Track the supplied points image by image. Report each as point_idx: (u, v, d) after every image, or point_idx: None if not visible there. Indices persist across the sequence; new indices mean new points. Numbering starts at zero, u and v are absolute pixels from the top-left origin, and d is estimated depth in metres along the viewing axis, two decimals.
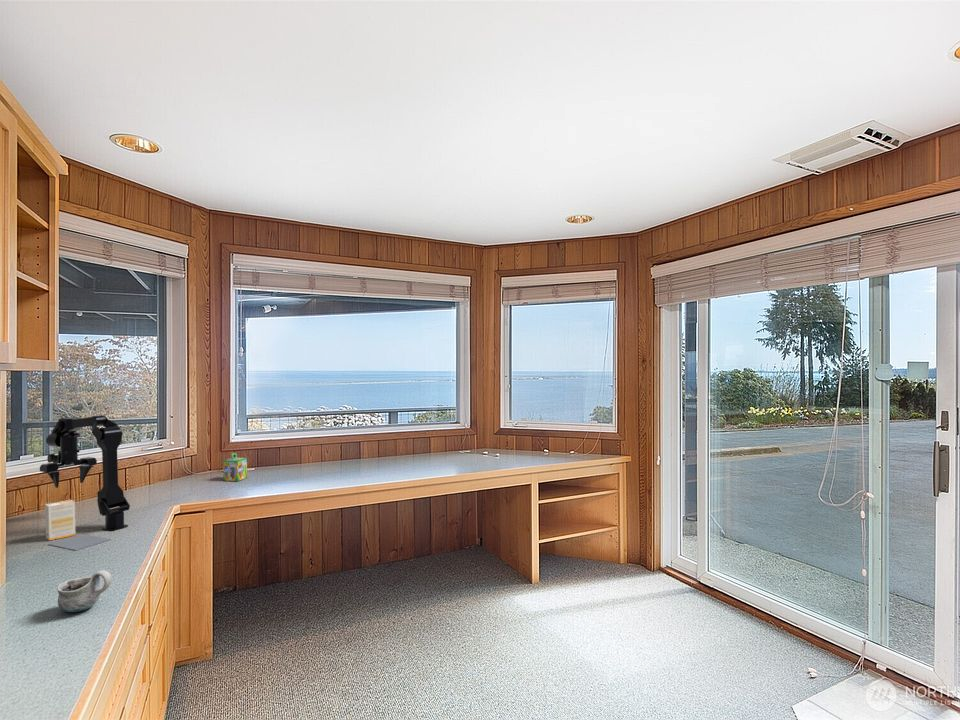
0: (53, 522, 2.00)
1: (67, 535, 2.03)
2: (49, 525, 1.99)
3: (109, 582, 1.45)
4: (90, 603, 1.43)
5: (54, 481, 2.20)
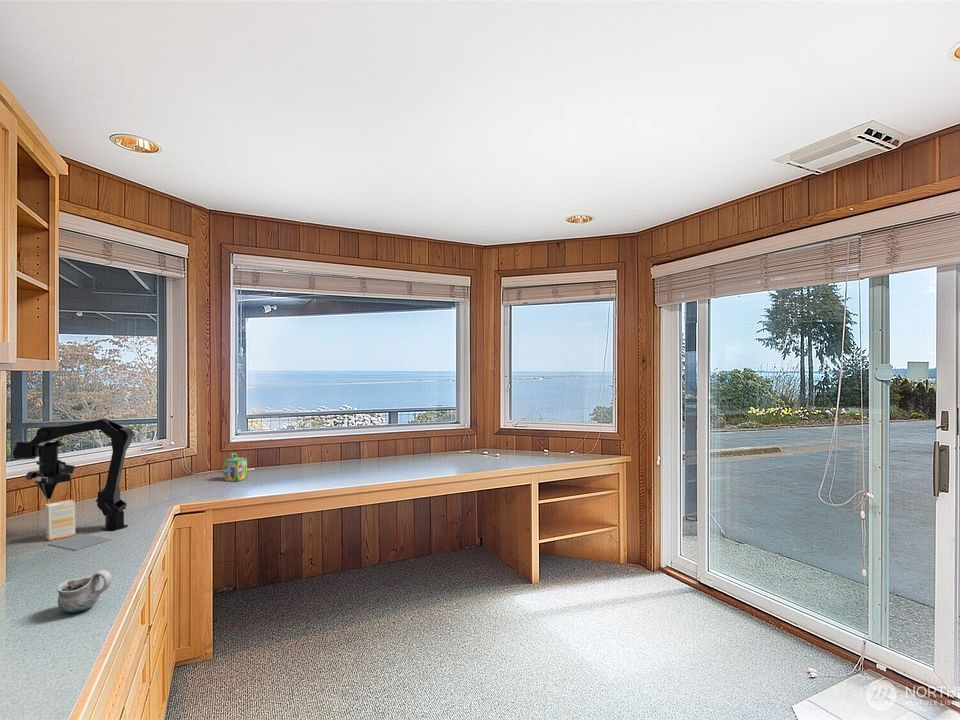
0: (53, 522, 2.00)
1: (67, 535, 2.03)
2: (49, 525, 1.99)
3: (109, 582, 1.45)
4: (90, 603, 1.43)
5: None
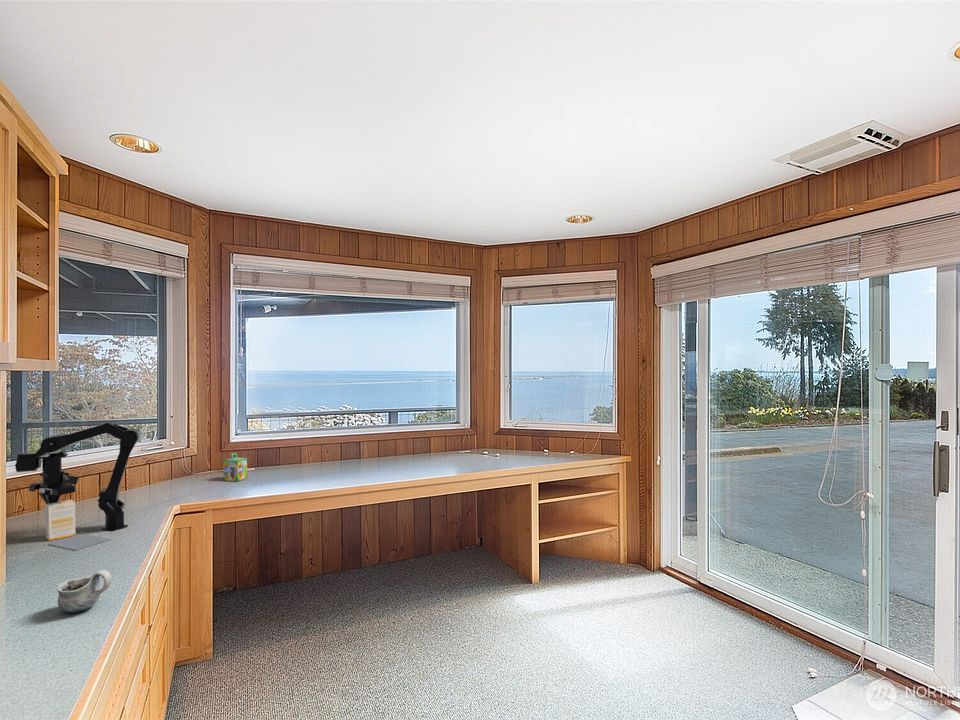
0: (53, 522, 2.00)
1: (67, 535, 2.03)
2: (49, 525, 1.99)
3: (109, 582, 1.45)
4: (90, 603, 1.43)
5: None
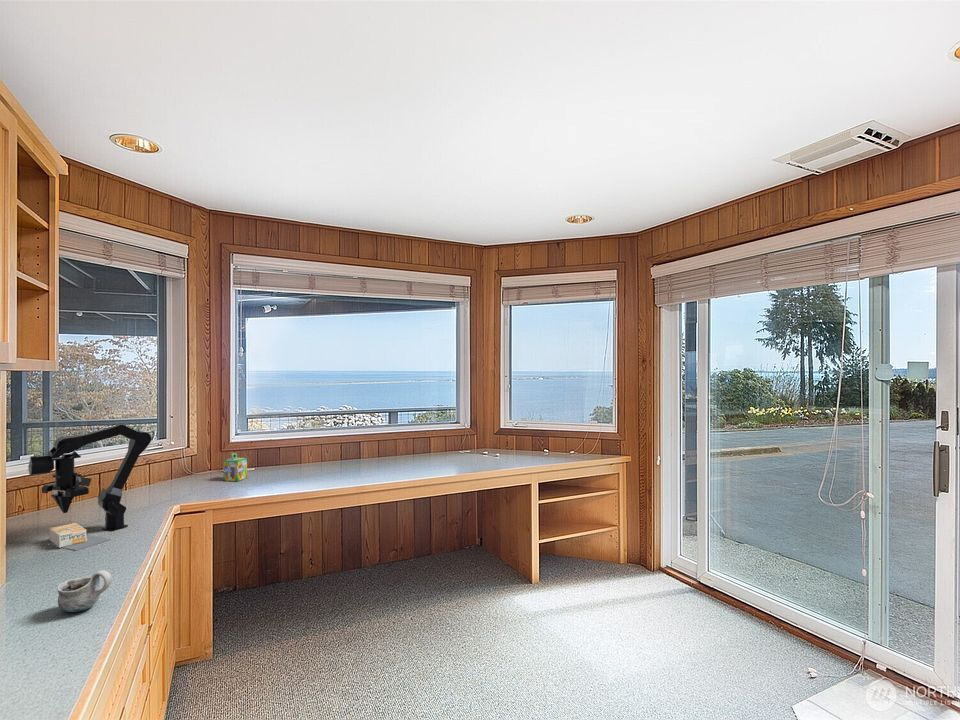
0: None
1: None
2: None
3: (109, 582, 1.45)
4: (90, 603, 1.43)
5: None
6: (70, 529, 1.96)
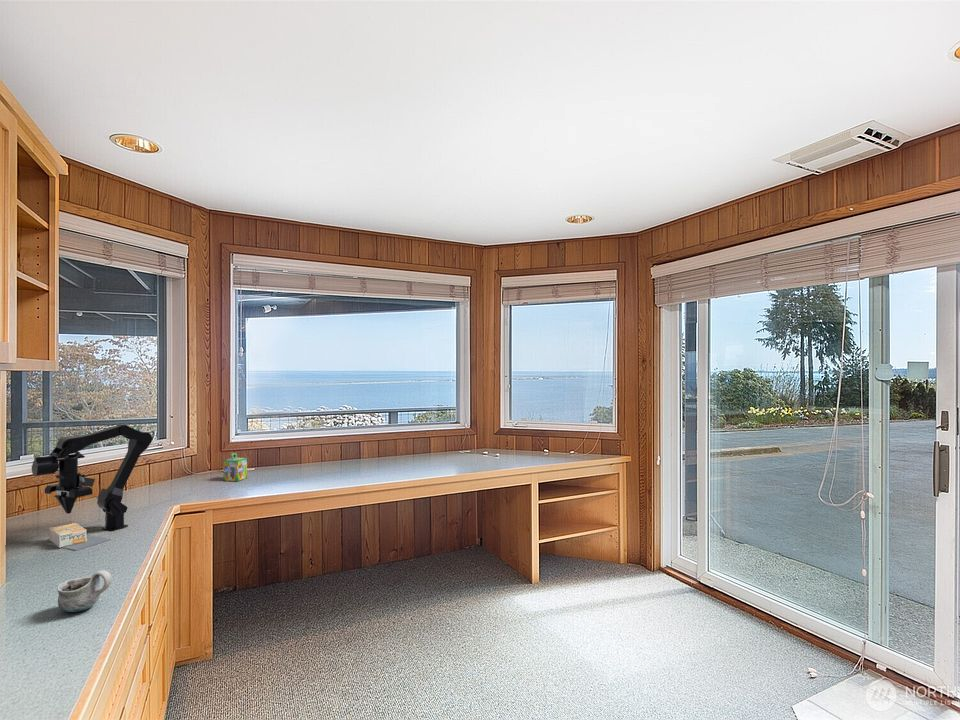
0: None
1: None
2: None
3: (109, 582, 1.45)
4: (90, 603, 1.43)
5: None
6: (70, 529, 1.96)
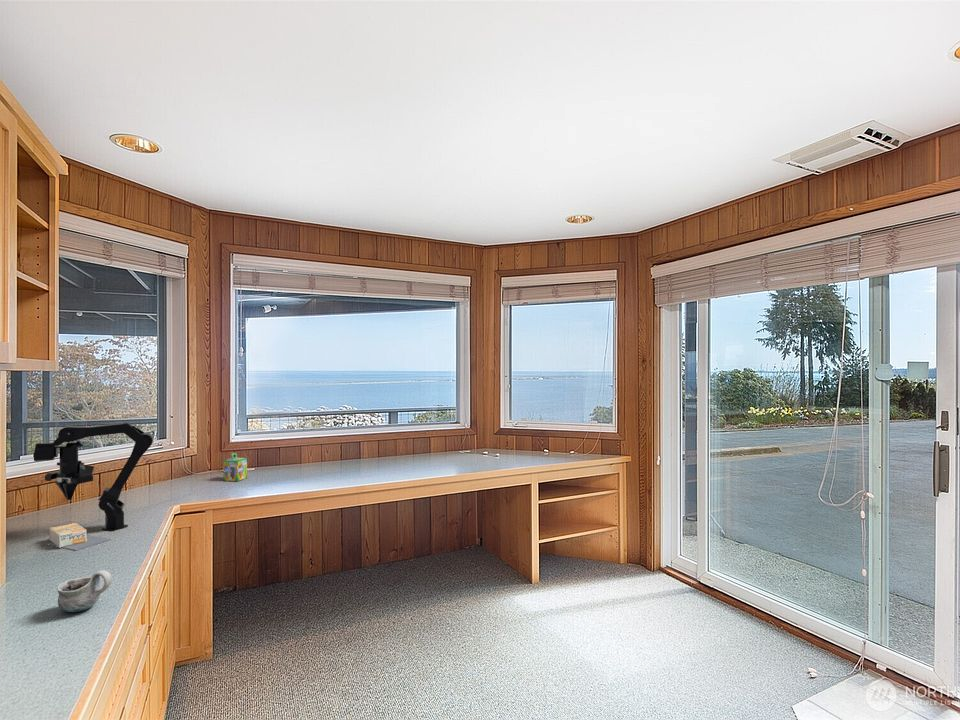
0: None
1: None
2: None
3: (109, 582, 1.45)
4: (90, 603, 1.43)
5: None
6: (70, 529, 1.96)
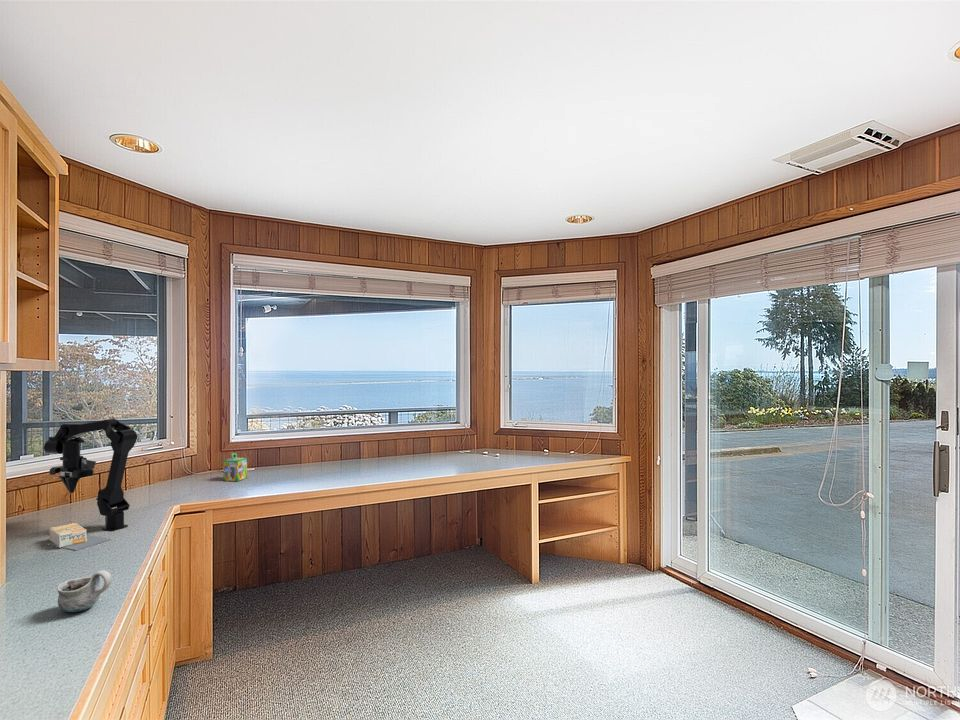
0: None
1: None
2: None
3: (109, 582, 1.45)
4: (90, 603, 1.43)
5: None
6: (70, 529, 1.96)
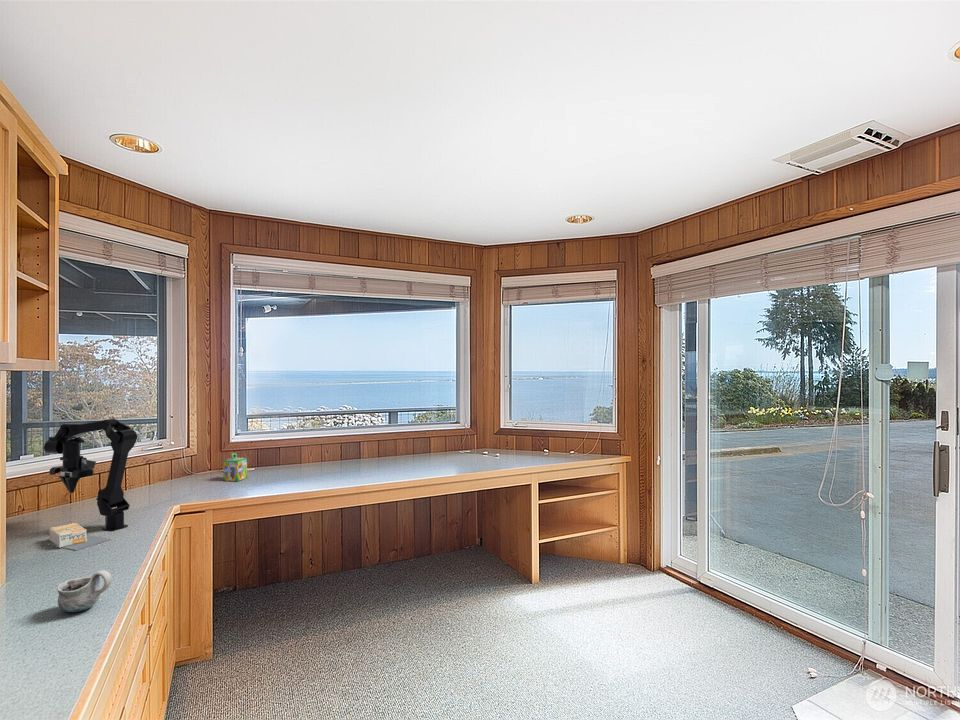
0: None
1: None
2: None
3: (109, 582, 1.45)
4: (90, 603, 1.43)
5: None
6: (70, 529, 1.96)
